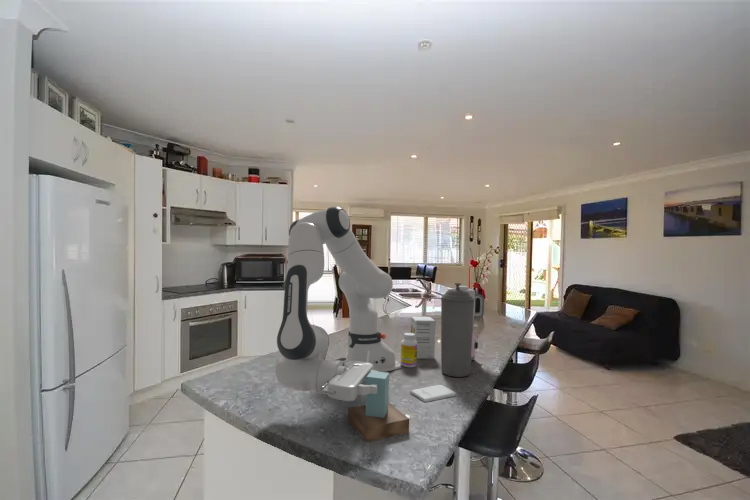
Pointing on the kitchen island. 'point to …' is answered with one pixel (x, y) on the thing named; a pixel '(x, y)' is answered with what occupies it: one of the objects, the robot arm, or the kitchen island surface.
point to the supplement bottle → (409, 350)
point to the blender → (474, 315)
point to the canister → (456, 332)
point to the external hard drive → (432, 393)
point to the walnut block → (378, 423)
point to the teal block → (377, 394)
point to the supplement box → (424, 336)
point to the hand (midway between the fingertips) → (381, 383)
